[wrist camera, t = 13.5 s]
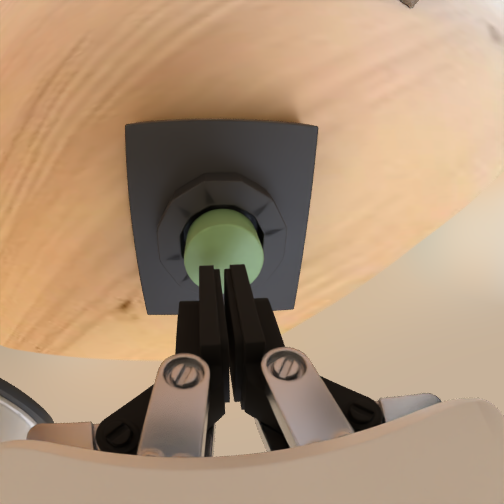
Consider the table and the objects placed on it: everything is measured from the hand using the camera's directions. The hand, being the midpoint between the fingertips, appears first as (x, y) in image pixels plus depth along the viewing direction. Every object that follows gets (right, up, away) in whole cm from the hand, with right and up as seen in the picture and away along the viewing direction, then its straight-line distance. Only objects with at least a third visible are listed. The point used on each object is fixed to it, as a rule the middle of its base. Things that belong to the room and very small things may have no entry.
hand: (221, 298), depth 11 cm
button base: (-1, +4, +8) cm, 9 cm away
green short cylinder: (0, +2, +4) cm, 4 cm away
